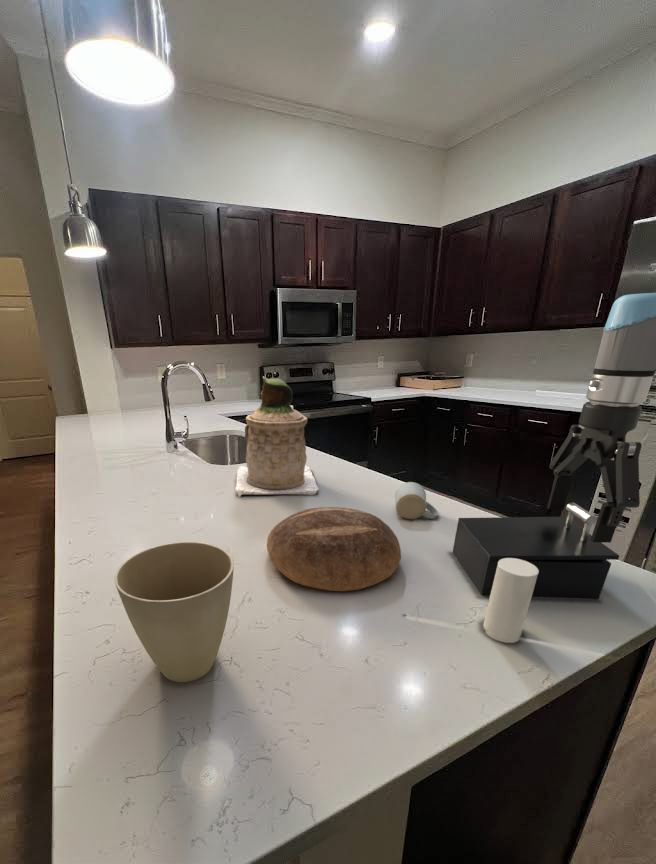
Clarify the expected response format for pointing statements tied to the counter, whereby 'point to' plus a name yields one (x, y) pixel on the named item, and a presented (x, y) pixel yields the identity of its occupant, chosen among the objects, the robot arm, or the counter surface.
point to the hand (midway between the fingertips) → (575, 524)
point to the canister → (510, 599)
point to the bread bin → (552, 578)
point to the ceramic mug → (413, 502)
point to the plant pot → (178, 604)
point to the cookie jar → (275, 447)
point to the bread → (334, 549)
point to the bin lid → (538, 537)
